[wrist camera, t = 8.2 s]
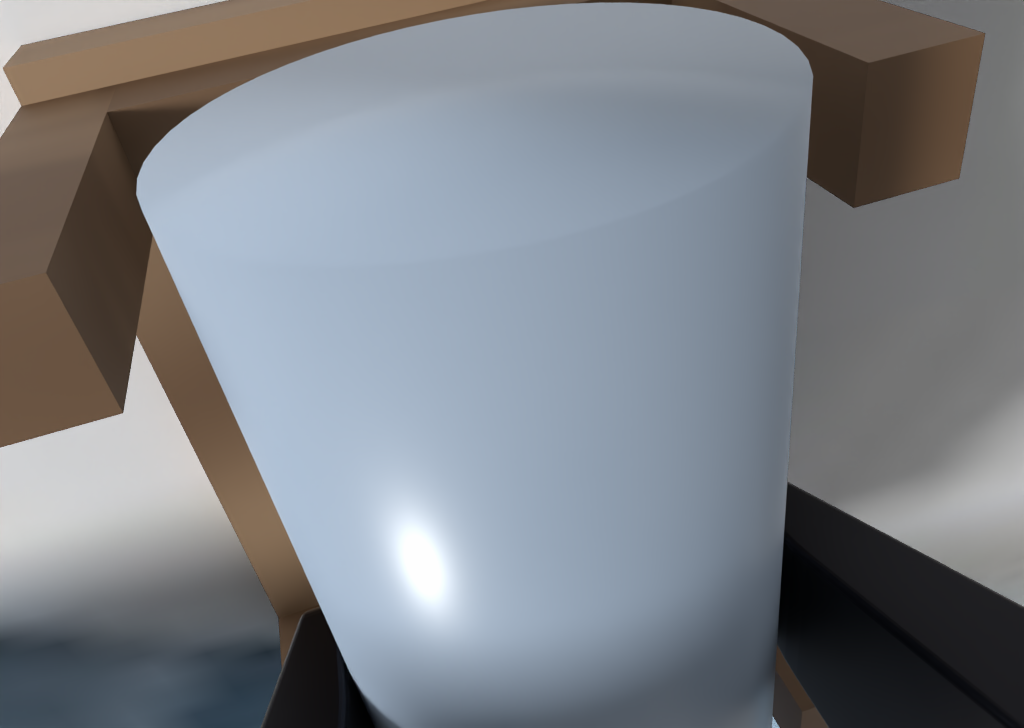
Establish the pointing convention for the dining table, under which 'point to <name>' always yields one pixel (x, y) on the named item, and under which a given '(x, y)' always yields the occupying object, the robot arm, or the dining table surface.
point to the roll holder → (275, 43)
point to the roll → (516, 350)
